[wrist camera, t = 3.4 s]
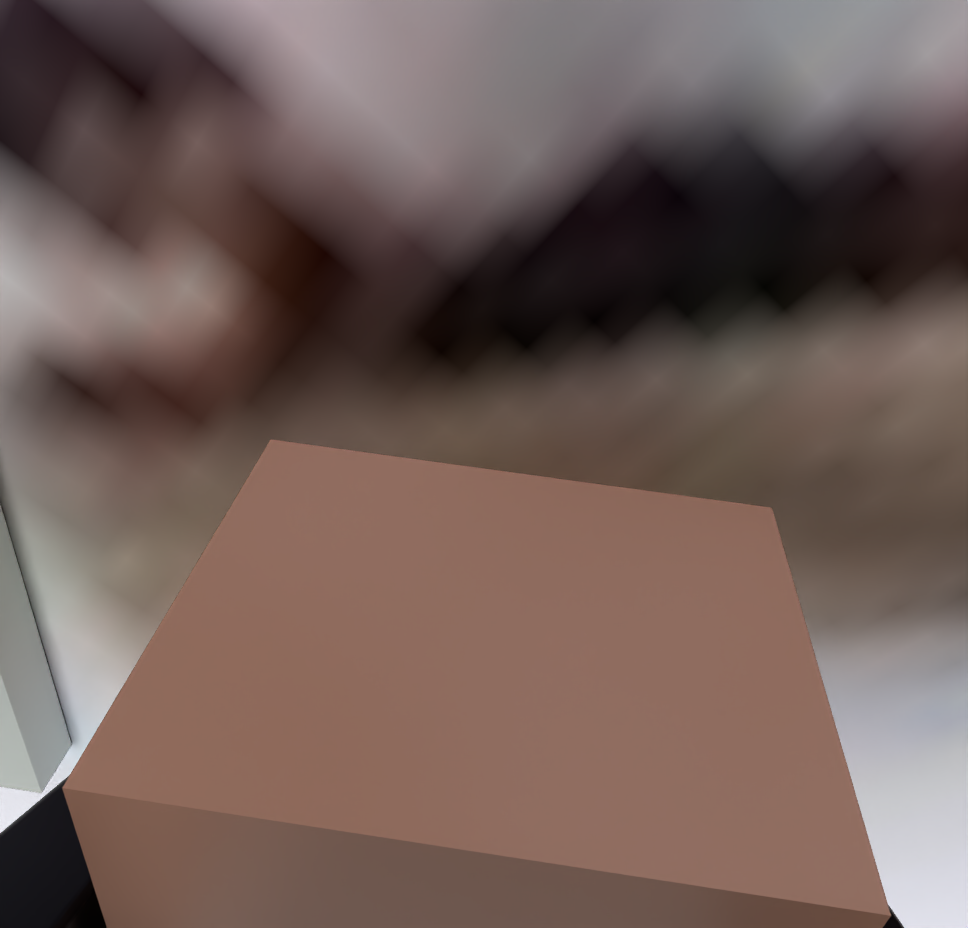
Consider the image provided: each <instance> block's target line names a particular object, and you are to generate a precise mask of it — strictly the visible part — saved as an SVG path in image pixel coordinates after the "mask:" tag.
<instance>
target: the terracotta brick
mask: <svg viewBox="0 0 968 928" xmlns="http://www.w3.org/2000/svg"><path fill="white" fill-rule="evenodd" d="M62 789H63V792H64V795H65V798H66V801H67V805H68V808H69V811H70V814H71V817H72V820H73V823H74V826H75V830H76V833H77V836H78V839H79V842H80V845H81V848H82V851H83V855H84V858H85V861H86V864H87V867H88V870H89V873H90V876H91V880H92V883H93V886H94V889H95V892H96V895H97V898H98V902H99V905H100V908H101V911H102V914H103V917H104V920H105V923H106V927H107V928H883V926H884V925H885V924H886V922H887V921H888V919H889V918H890V916H891V914H890V911H889V907H888V904H887V900H886V897H885V893H884V890H883V887H882V883H881V880H880V876H879V873H878V869H877V866H876V863H875V859H874V856H873V852H872V849H871V845H870V842H869V839H868V835H867V832H866V828H865V825H864V821H863V818H862V815H861V811H860V808H859V804H858V801H857V797H856V794H855V791H854V787H853V784H852V780H851V777H850V773H849V770H848V767H847V763H846V760H845V756H844V753H843V750H842V746H841V743H840V739H839V736H838V732H837V729H836V726H835V722H834V719H833V715H832V712H831V708H830V705H829V702H828V698H827V695H826V691H825V688H824V684H823V681H822V678H821V674H820V671H819V667H818V664H817V660H816V657H815V654H814V650H813V647H812V643H811V640H810V636H809V633H808V630H807V626H806V623H805V619H804V616H803V612H802V609H801V606H800V602H799V599H798V595H797V592H796V588H795V585H794V582H793V578H792V575H791V571H790V568H789V564H788V561H787V558H786V554H785V551H784V547H783V544H782V540H781V537H780V534H779V530H778V527H777V523H776V520H775V517H774V513H773V510H772V508H771V507H764V506H756V505H749V504H742V503H734V502H727V501H720V500H712V499H705V498H698V497H690V496H683V495H675V494H668V493H661V492H653V491H646V490H639V489H631V488H624V487H617V486H609V485H602V484H595V483H587V482H580V481H573V480H565V479H558V478H551V477H543V476H536V475H528V474H521V473H514V472H506V471H499V470H492V469H484V468H477V467H470V466H462V465H455V464H448V463H440V462H433V461H426V460H418V459H411V458H404V457H396V456H389V455H382V454H374V453H367V452H359V451H352V450H345V449H337V448H330V447H323V446H315V445H308V444H301V443H293V442H286V441H279V440H270V441H269V443H268V445H267V446H266V448H265V450H264V451H263V453H262V455H261V456H260V458H259V460H258V461H257V463H256V465H255V466H254V468H253V470H252V471H251V473H250V475H249V476H248V478H247V480H246V481H245V483H244V485H243V486H242V488H241V490H240V491H239V493H238V495H237V496H236V498H235V500H234V501H233V503H232V505H231V506H230V508H229V510H228V511H227V513H226V515H225V516H224V518H223V520H222V522H221V523H220V525H219V527H218V528H217V530H216V532H215V533H214V535H213V537H212V538H211V540H210V542H209V543H208V545H207V547H206V548H205V550H204V552H203V553H202V555H201V557H200V558H199V560H198V562H197V563H196V565H195V567H194V568H193V570H192V572H191V573H190V575H189V577H188V578H187V580H186V582H185V583H184V585H183V587H182V588H181V590H180V592H179V593H178V595H177V597H176V598H175V600H174V602H173V603H172V605H171V607H170V608H169V610H168V612H167V614H166V615H165V617H164V619H163V620H162V622H161V624H160V625H159V627H158V629H157V630H156V632H155V634H154V635H153V637H152V639H151V640H150V642H149V644H148V645H147V647H146V649H145V650H144V652H143V654H142V655H141V657H140V659H139V660H138V662H137V664H136V665H135V667H134V669H133V670H132V672H131V674H130V675H129V677H128V679H127V680H126V682H125V684H124V685H123V687H122V689H121V690H120V692H119V694H118V695H117V697H116V699H115V701H114V702H113V704H112V706H111V707H110V709H109V711H108V712H107V714H106V716H105V717H104V719H103V721H102V722H101V724H100V726H99V727H98V729H97V731H96V732H95V734H94V736H93V737H92V739H91V741H90V742H89V744H88V746H87V747H86V749H85V751H84V752H83V754H82V756H81V757H80V759H79V761H78V762H77V764H76V766H75V767H74V769H73V771H72V772H71V774H70V776H69V777H68V779H67V781H66V782H65V784H64V786H63V787H62Z"/></svg>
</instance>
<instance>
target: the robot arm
mask: <svg viewBox="0 0 968 928" xmlns="http://www.w3.org/2000/svg"><path fill="white" fill-rule="evenodd" d="M69 776H70V775H69ZM69 776H68V777H69ZM68 777H67V778H66V779H65V780H63V781H62V782H61V783H60V784H59V785H57V786H56V787H55V788H54V789H53V790H51V791H50V792H49V793H48V794H47V795H45V796H44V797H43V798H42V799H41V800H40V801H38V802H37V803H36V804H35V805H34V806H32V807H31V808H30V809H29V810H28V811H26V812H25V813H24V814H23V815H22V816H20V817H19V818H18V819H17V820H16V821H14V822H13V823H12V824H11V825H10V826H9V827H7V828H6V829H5V830H4V831H3V832H1V833H0V928H107V927H106V923H105V920H104V917H103V914H102V911H101V908H100V905H99V902H98V898H97V895H96V892H95V889H94V886H93V883H92V880H91V876H90V873H89V870H88V867H87V864H86V861H85V858H84V855H83V851H82V848H81V845H80V842H79V839H78V836H77V833H76V830H75V826H74V823H73V820H72V817H71V814H70V811H69V808H68V805H67V801H66V798H65V795H64V792H63V789H62V787H63V786H64V784H65V782H66V781H67V779H68ZM888 907H889V905H888ZM889 911H890V914H891V916H890V918H889V919H888V921H887V922H886V924H885V925H884V926H883V928H904V927H903V925H902V924H901V922H900V921H899V919H898V918H897V917H896V915H895V914H894V912H893V911H892V909H891V908H890V907H889Z"/></svg>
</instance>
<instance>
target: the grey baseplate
mask: <svg viewBox="0 0 968 928" xmlns="http://www.w3.org/2000/svg"><path fill="white" fill-rule="evenodd" d="M71 745H72V744H71V741H70V737H69V734H68V731H67V727H66V724H65V721H64V717H63V714H62V710H61V707H60V704H59V700H58V697H57V694H56V690H55V687H54V683H53V680H52V677H51V673H50V670H49V667H48V663H47V660H46V656H45V653H44V650H43V646H42V643H41V640H40V636H39V633H38V629H37V626H36V623H35V619H34V616H33V613H32V609H31V606H30V602H29V599H28V596H27V592H26V589H25V586H24V582H23V579H22V575H21V572H20V569H19V565H18V562H17V559H16V555H15V552H14V548H13V545H12V542H11V538H10V535H9V532H8V528H7V525H6V521H5V518H4V515H3V511H2V508H1V505H0V787H6V788H12V789H18V790H25V791H31V792H38V793H42V792H43V790H44V789H45V787H46V785H47V784H48V782H49V781H50V779H51V777H52V776H53V774H54V772H55V771H56V769H57V768H58V766H59V764H60V763H61V761H62V760H63V758H64V756H65V755H66V753H67V752H68V750H69V748H70V747H71Z"/></svg>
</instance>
